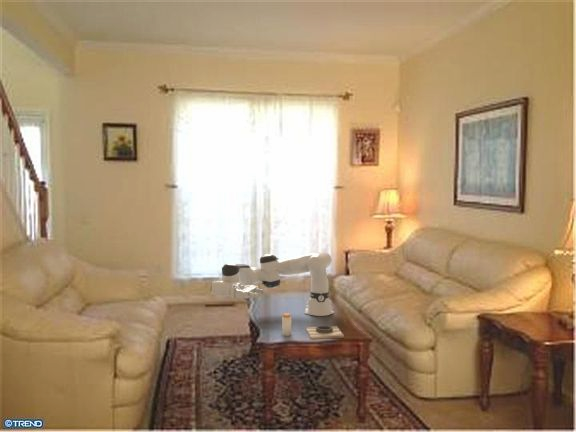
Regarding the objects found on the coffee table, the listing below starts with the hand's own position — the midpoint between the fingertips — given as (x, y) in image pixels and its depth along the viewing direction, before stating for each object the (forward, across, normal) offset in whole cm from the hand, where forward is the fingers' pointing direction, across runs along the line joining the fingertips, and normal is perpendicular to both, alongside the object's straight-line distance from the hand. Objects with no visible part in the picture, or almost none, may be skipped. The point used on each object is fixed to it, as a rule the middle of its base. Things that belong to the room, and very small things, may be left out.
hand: (260, 293), depth 293 cm
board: (+36, -8, -20) cm, 42 cm away
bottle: (+16, 0, -21) cm, 27 cm away
